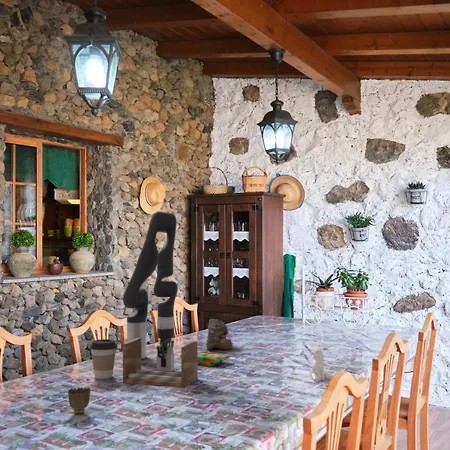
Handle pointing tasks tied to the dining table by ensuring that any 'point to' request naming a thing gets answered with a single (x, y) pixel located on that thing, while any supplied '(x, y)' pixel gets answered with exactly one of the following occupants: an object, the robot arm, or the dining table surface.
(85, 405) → the cup
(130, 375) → the wooden rack
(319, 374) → the seated beast figurine
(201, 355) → the puzzle game
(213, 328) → the rock
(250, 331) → the dining table surface
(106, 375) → the coffee cup
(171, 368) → the white food carton
